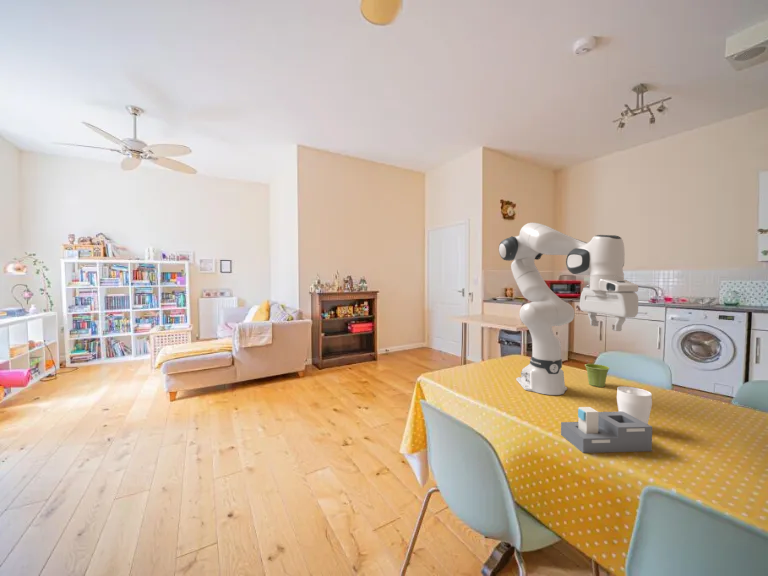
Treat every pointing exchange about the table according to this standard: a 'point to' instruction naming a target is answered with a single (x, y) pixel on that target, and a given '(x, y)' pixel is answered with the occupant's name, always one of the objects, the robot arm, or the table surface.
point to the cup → (634, 402)
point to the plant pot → (597, 374)
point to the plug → (588, 420)
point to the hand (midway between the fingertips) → (605, 328)
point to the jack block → (611, 434)
